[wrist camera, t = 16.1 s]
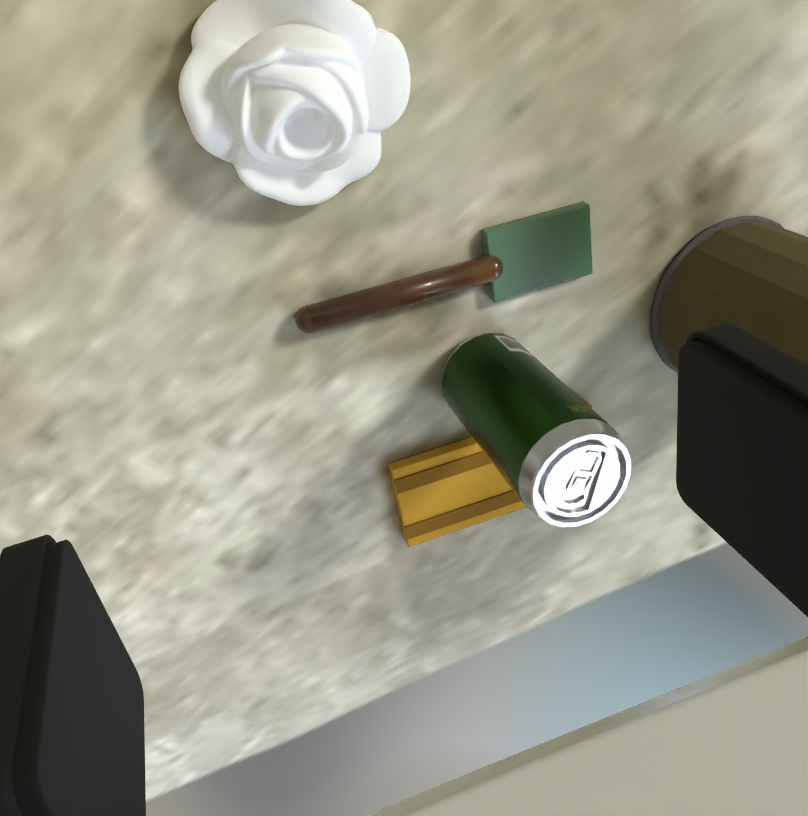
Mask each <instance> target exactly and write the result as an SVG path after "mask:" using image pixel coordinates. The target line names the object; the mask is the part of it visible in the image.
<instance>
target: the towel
mask: <svg viewBox="0 0 808 816" xmlns="http://www.w3.org/2000/svg"><path fill="white" fill-rule="evenodd" d="M584 402H585V403H586V404H587V405H588V406H589V407H590V408H591V409H592V406H591V405H590V404H589V403H588V402H587V401H586V400H585V401H584ZM389 469H390V474H391V478H392V483H393V487H394V492H395V497H396V501H397V506H398V510H399V515H400V519H401V524H402V529H403V533H404V538H405V541H406V543H407V545H408V547H411V546H414V545H417V544H420V543H423V542H425V541H428V540H431V539H434V538H437V537H440V536H443V535H446V534H449V533H452V532H455V531H457V530H460V529H463V528H466V527H469V526H472V525H475V524H478V523H481V522H484V521H487V520H489V519H492V518H495V517H498V516H501V515H504V514H507V513H510V512H513V511H516V510H519V509H521V508H524V507H526V506H525V505H524V503H523V502H522V501H521V500H520V498H519V497H518V496H517V494H516V493H515V492H514V490H513V489H512V488H511V486H510V485H509V484H508V483H507V481H506V480H505V479H504V477H503V476H502V475H501V473H500V472H499V471H498V470H497V468H496V467H495V466H494V464H493V463H492V462H491V460H490V459H489V458H488V456H487V455H486V454H485V453H484V451H483V450H482V449H481V447H480V446H479V445H478V443H477V442H476V441H475V440H474V438H473V437H470V438H467V439H464V440H461V441H458V442H455V443H451V444H448V445H445V446H442V447H439V448H436V449H433V450H430V451H427V452H424V453H420V454H417V455H414V456H411V457H408V458H405V459H402V460H399V461H396V462H392V463H389Z"/></svg>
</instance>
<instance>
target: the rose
mask: <svg viewBox="0 0 808 816" xmlns="http://www.w3.org/2000/svg"><path fill="white" fill-rule="evenodd" d="M191 43H192V49H193V50H192V52H191V54H190V56H189V57H188V59H187V61H186V63H185V65H184V67H183V69H182V71H181V74H180V78H179V96H180V102H181V105H182V109H183V111H184V114H185V116H186V119H187V121H188V124H189V126H190V129H191V132H192V134H193V136H194V138H195V139H196V140H197V142H198V143H199V144H200V145H201V146H202V147H203V148H204V149H205V150H207V151H208V152H209V153H211V154H212V155H214V156H216V157H218V158H220V159H222V160H225V161H227V162H229V163H231V164H232V165H234V166H235V169H236V171H237V174H238V176H239V178H240V179H241V180H242V181H243V182H244V183H245V184H246V185H247V186H248V187H249V188H250V189H252V190H253V191H255V192H257V193H259V194H261V195H263V196H267V197H270V198H273V199H275V200H278V201H280V202H283V203H287V204H290V205H297V206H305V205H316V204H319V203H322V202H325V201H327V200H329V199H330V198H332V197H333V196H335V195H336V194H337V193H339V192H340V191H341V190H342V189H343V188H344V187H345V186H346V185H348V184H349V183H352V182H354V181H357V180H359V179H361V178H363V177H365V176H366V175H368V174H369V173H370V172H372V171H373V170H374V168H375V167H376V166H377V164H378V162H379V160H380V157H381V131H383V130H386V129H388V128H389V127H391V126H392V125H393V124H394V123H395V122H396V121H397V120H398V119H399V118H400V117H401V115H402V114H403V112H404V110H405V108H406V106H407V103H408V100H409V94H410V68H409V64H408V60H407V55H406V53H405V50H404V47H403V45H402V44H401V42H400V41H399V40H398V38H397V37H396V36H394V35H393V34H392V33H390V32H388V31H386V30H383V29H380V28H376V27H375V25H374V22H373V19H372V17H371V15H370V14H369V13H368V12H367V11H366V10H365V9H364V8H363V7H361V6H360V5H358V4H357V3H355V2H353V1H351V0H216V1H215V2H214V3H212V4H211V5H210V6H209V7H208V8H207V9H206V10H205V11H204V12H203V13H202V14H201V16H200V17H199V19H198V20H197V22H196V24H195V25H194V28H193V30H192V34H191Z"/></svg>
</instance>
